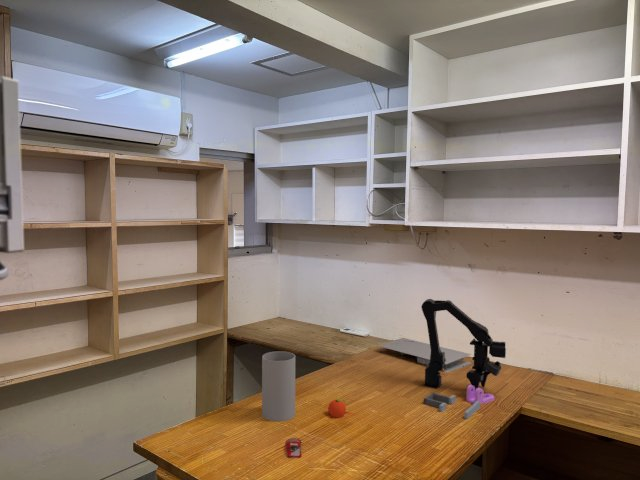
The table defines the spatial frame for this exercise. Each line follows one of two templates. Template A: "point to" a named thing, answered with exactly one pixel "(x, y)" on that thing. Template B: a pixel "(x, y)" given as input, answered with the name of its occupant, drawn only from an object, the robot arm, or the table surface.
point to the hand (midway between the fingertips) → (479, 389)
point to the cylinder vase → (278, 386)
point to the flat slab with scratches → (427, 353)
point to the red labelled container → (293, 448)
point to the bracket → (478, 395)
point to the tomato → (337, 408)
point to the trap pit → (433, 397)
